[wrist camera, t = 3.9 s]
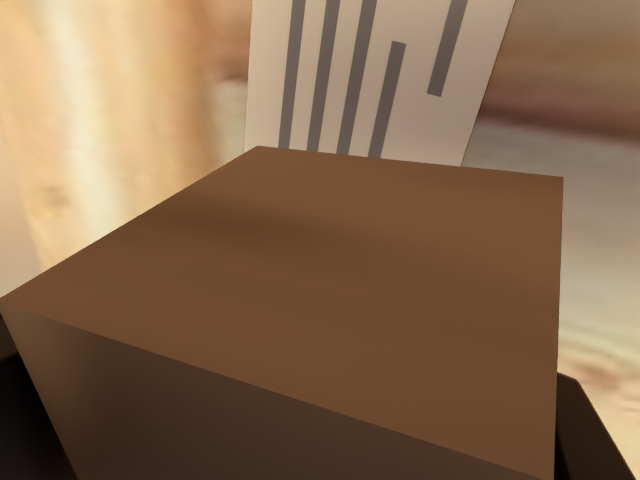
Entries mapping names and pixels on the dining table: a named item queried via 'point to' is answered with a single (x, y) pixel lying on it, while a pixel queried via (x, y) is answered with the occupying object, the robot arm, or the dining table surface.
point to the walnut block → (308, 326)
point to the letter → (371, 75)
